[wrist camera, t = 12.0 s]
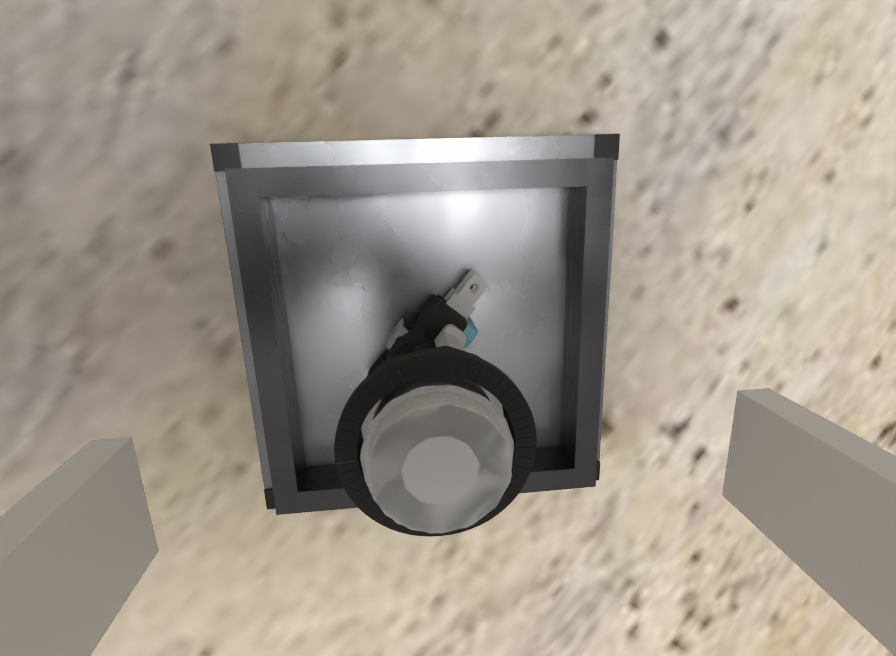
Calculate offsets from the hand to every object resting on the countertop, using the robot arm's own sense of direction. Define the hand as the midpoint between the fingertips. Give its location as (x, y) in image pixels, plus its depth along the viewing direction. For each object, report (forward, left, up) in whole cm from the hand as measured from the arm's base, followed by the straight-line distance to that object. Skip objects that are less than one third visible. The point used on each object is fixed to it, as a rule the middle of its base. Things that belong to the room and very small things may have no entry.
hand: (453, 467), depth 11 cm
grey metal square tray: (0, 0, -12) cm, 12 cm away
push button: (0, 0, -11) cm, 11 cm away
